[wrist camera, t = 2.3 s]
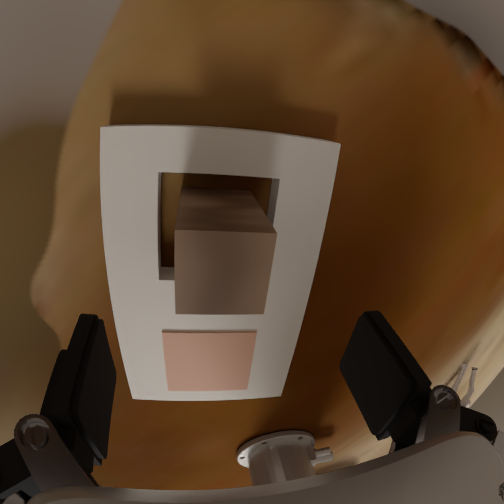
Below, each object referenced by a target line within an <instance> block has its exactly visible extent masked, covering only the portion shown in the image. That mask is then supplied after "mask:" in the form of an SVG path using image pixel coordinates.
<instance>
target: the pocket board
mask: <svg viewBox="0 0 504 504" xmlns="http://www.w3.org/2000/svg"><path fill="white" fill-rule="evenodd" d="M340 146H341V144H339V143H336V142H333V141H330V140H324V139H318V138H312V137H306V136H299V135H292V134H285V133H277V132H269V131H260V130H250V129H240V128H228V127H214V126H197V125H169V124H126V125H107V126H102V127H101V130H100V192H101V213H102V227H103V239H104V250H105V259H106V267H107V275H108V283H109V290H110V296H111V303H112V309H113V314H114V320H115V325H116V330H117V335H118V340H119V345H120V350H121V354H122V359H123V363H124V367H125V371H126V375H127V379H128V383H129V387H130V391H131V394H132V398H133V399H144V400H170V401H210V400H237V399H253V398H266V397H277V396H281V394H282V391H283V387H284V384H285V381H286V377H287V374H288V371H289V367H290V364H291V361H292V357H293V354H294V350H295V347H296V343H297V339H298V336H299V332H300V328H301V325H302V321H303V317H304V313H305V310H306V306H307V302H308V298H309V294H310V290H311V286H312V282H313V278H314V274H315V269H316V265H317V261H318V257H319V252H320V248H321V243H322V239H323V234H324V230H325V225H326V220H327V215H328V210H329V205H330V200H331V195H332V190H333V185H334V180H335V174H336V169H337V163H338V157H339V152H340ZM162 172H174V173H201V174H221V175H237V176H251V177H264V178H272V184H271V191H270V198H269V205H268V212H267V218H268V219H269V221H270V223H271V224H272V226H273V227H274V229H275V231H276V232H277V239H276V245H275V251H274V257H273V263H272V269H271V275H270V281H269V287H268V293H267V299H266V304H265V310H264V314H248V315H195V314H175V267H161V173H162Z"/></svg>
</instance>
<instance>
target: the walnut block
mask: <svg viewBox="0 0 504 504" xmlns="http://www.w3.org/2000/svg"><path fill="white" fill-rule="evenodd" d="M276 239H277V232H276V231H275V229H274V227H273V226H272V224H271V223H270V221H269V219H268V218H267V216H266V215H265V213H264V211H263V210H262V208H261V207H260V205H259V203H258V202H257V200H256V199H255V197H254V196H253V194H252V192H251V191H248V190H232V189H213V188H189V187H182V189H181V194H180V200H179V206H178V212H177V218H176V225H175V249H174V267H175V314H195V315H248V314H264V310H265V304H266V299H267V293H268V287H269V281H270V275H271V269H272V263H273V257H274V251H275V245H276Z"/></svg>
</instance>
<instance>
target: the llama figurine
mask: <svg viewBox="0 0 504 504" xmlns="http://www.w3.org/2000/svg"><path fill="white" fill-rule="evenodd" d="M461 366H462V368H461V370H460V372H459V374H458V377H457V379H456V381H455V383H454V384H453V386H452V389H453V390H454V391H455V392H456V391H457V389H458V386H459V384H460V382H461V380H462V377H463V375H464V373H465V371H466V369H467V366H468V363H467V364H465V363H464V364H462V365H461ZM464 366H465V367H464ZM463 369H464V370H463ZM477 369H478V368H476V367H472V371H471V376H470V380H469V388H468V392H467V394H466V395H465V396H464V397H463V399H462V400H460V403H461V406H464V407H466V408H468V406H469V405H470V400H469V399H470V397H471V396H472V394H473V392H474V380H475V375H476V371H477ZM462 371H463V372H462ZM461 373H462V374H461ZM460 375H461V376H460Z"/></svg>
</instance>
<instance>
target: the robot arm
mask: <svg viewBox="0 0 504 504" xmlns="http://www.w3.org/2000/svg"><path fill="white" fill-rule="evenodd" d="M340 370H341V373H342V375H343V377H344V379H345V381H346V383H347V385H348V387H349V389H350V391H351V393H352V395H353V397H354V399H355V401H356V403H357V405H358V407H359V409H360V411H361V413H362V415H363V417H364V419H365V421H366V423H367V425H368V427H369V429H370V431H371V433H372V434H373V435H375V436H376V438H377V440H378V441H379V440H382V439H385V438H388V437H389V436H391V438H392V443H391V447H390V450H389V454H387V455H385V456H382V457H379V458H376V459H373V460H370V461H367V462H364V463H360V464H357V465H354V466H350V467H347V468H343V469H339V470H336V471H332V472H328V473H324V474H319V475H316V473H315V471H314V468H313V466H315V465H316V464H317V463H321V462H322V463H324V462H328V461H332V460H333V453H332V451H331V450H330V447H326V448H321V449H318V450H316V449H313V448H314V446H315V440H314V438H313V435H311V434H310V433H308V432H305V431H299V430H289V431H280V432H275V433H270V434H267V435H263V436H260V437H257V438H255V439H253V440H251V441H249V442H247V443H245V444H244V445H243V446H241V447H240V448H239V449H238V451H237V453H236V456H237V461H238V463H239V464H241V465H243V466H245V467H248V468H249V471H250V476H251V481H252V485H253V486H250V487H241V488H230V489H215V490H142V489H128V488H112V487H100V485H99V484H98V483H97V481H96V480H95V479H94V477H93V476H92V475H91V473H92V472H93V465H99V466H101V465H102V459H106V457H107V450H108V439H109V430H110V421H111V413H112V405H113V398H114V391H115V384H116V369H115V366H114V362H113V359H112V355H111V351H110V347H109V343H108V339H107V335H106V331H105V327H104V322H103V320H102V319H98V316H97V315H94V314H81V315H80V316H79V319H78V322H77V324H76V327H75V329H74V332H73V335H72V338H71V340H70V343H69V346H68V349H67V350H61V351H60V353H59V355H58V357H57V360H56V363H55V366H54V369H53V372H52V375H51V378H50V381H49V384H48V387H47V391H46V394H45V397H44V401H43V404H42V408H41V411H40V414H29V415H25V416H24V417H22V418H21V419H20V420H19V421H18V422H17V424H16V426H15V429H14V439H12V440H10V441H9V442H7V443H5V444H3V445H2V446H0V504H504V433H503V432H502V431H501V430H499V431H497V427H496V424H495V422H494V421H493V420H492V419H491V418H490V417H489V416H487V415H485V414H482V413H480V412H477V411H474V410H472V409H469V408H466V407H464V406H461V403H460V398H459V396H458V394H457V393H456V392H455V391H454V390H453V389H452V388H450V387H448V386H445V385H437V386H435V387H434V388H433V389H432V390H431V388H430V386H431V384H432V383H431V381H430V380H429V378H428V377H427V375H426V374H425V372H424V371H423V370H422V368H421V367H420V365H419V364H418V363H417V361H416V360H415V358H414V357H413V356H412V354H411V353H410V351H409V350H408V349H407V347H406V346H405V345H404V343H403V342H402V340H401V339H400V338H399V336H398V335H397V334H396V332H395V331H394V330H393V328H392V327H391V326H390V324H389V323H388V322H387V320H386V319H385V318H384V316H383V315H382V314H381V313H380V312H379V311H366V312H364V313H363V314H362V316H360V317H359V319H358V321H357V324H356V326H355V329H354V331H353V334H352V336H351V338H350V341H349V343H348V346H347V348H346V350H345V352H344V355H343V357H342V359H341V362H340Z"/></svg>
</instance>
